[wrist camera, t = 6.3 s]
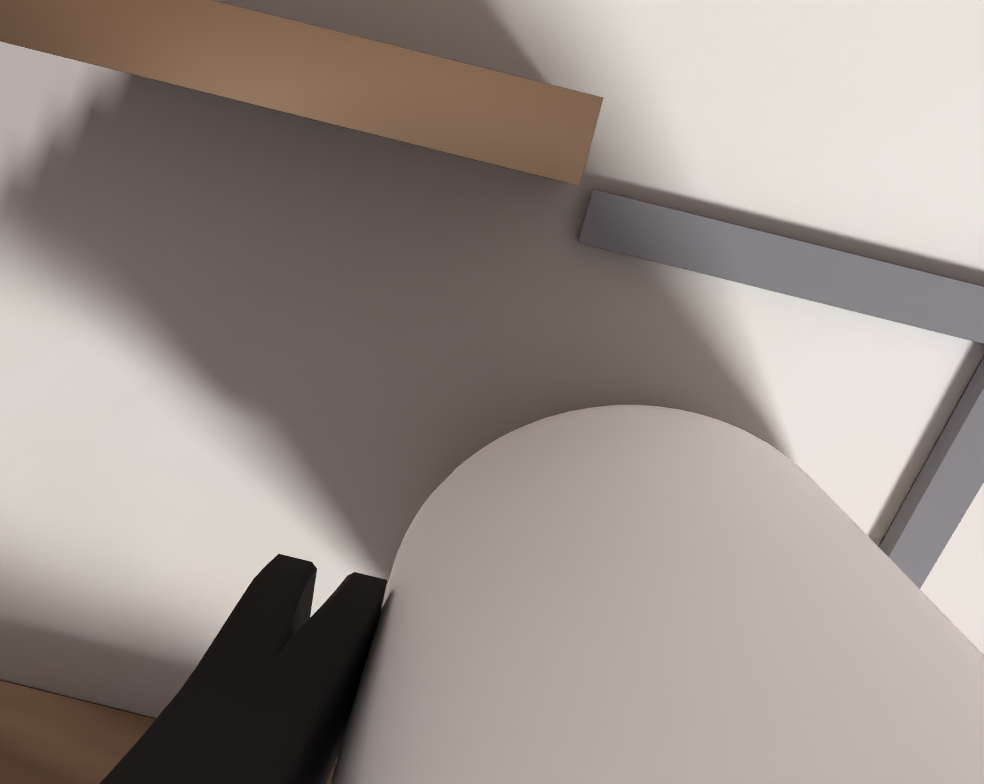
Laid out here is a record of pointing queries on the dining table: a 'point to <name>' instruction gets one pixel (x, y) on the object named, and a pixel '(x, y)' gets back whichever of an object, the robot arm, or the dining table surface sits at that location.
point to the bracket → (845, 284)
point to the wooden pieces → (300, 91)
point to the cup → (654, 624)
